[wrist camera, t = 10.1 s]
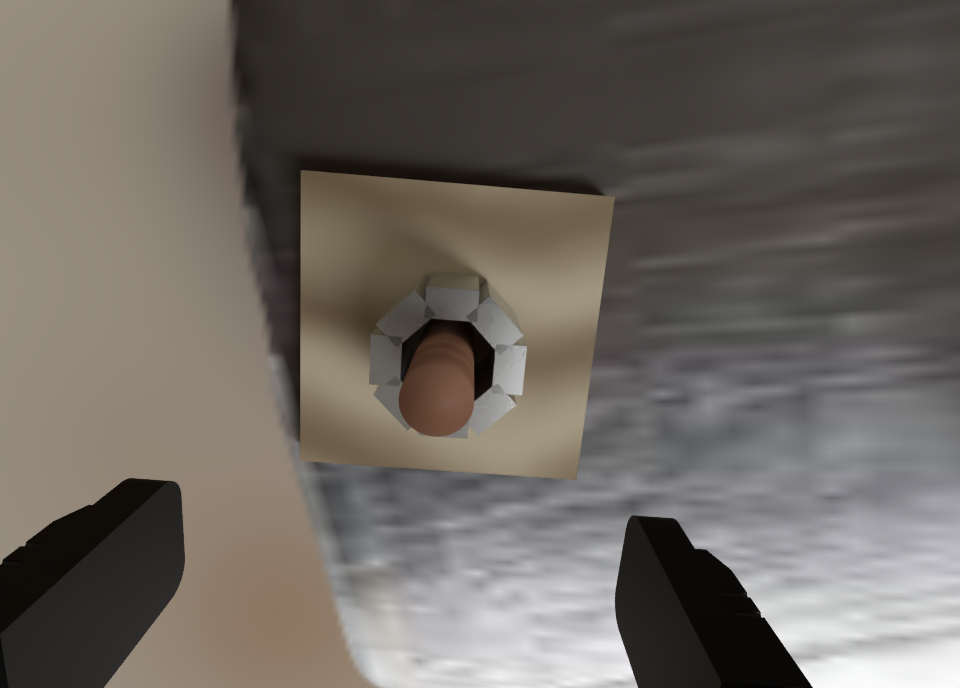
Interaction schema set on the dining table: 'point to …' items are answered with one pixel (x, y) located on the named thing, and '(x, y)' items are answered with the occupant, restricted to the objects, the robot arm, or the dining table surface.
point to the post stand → (447, 343)
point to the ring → (461, 302)
